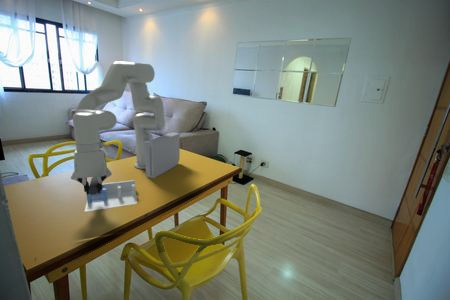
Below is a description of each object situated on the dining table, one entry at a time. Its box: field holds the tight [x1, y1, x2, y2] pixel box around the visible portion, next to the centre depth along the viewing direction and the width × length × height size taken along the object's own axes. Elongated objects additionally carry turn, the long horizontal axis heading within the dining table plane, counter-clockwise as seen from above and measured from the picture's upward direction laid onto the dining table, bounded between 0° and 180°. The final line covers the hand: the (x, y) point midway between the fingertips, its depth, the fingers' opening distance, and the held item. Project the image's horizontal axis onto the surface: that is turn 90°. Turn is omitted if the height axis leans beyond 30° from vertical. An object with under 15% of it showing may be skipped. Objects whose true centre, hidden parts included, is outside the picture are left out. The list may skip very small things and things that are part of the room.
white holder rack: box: [84, 179, 138, 213], centre depth 93 cm, size 16×19×6 cm
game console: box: [145, 131, 181, 179], centre depth 126 cm, size 6×27×20 cm, turn 162°
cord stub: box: [88, 177, 98, 195], centre depth 86 cm, size 10×3×3 cm, turn 25°
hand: (93, 192), depth 84 cm, fingers closed on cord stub, 3 cm apart
